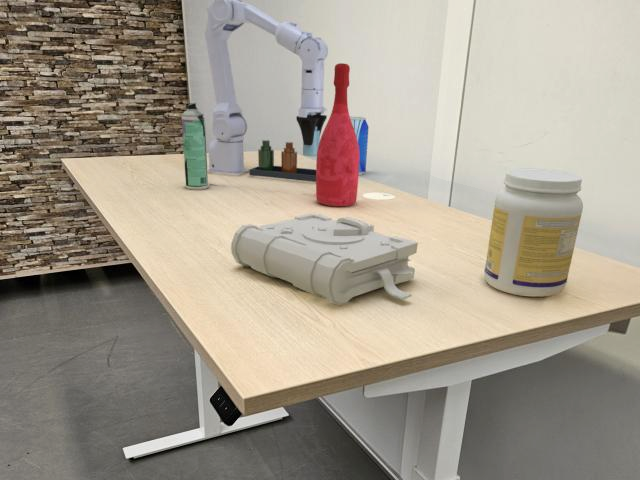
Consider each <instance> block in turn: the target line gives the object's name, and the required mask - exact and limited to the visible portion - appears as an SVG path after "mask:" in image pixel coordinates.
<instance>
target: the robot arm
mask: <svg viewBox="0 0 640 480" xmlns="http://www.w3.org/2000/svg"><path fill="white" fill-rule="evenodd" d="M206 11H207V20H206V21H207V22H206V26H205V27H206V28H205V31H204V36H205V37H204V38H205V44H206V49H207V55H208V60H209V66H210V71H211V78H212V85H213V89H214V96H215V101H216V102H215V103H216V106H215V108H214V110H213V112H212V117H213V121H212V125H211V128H212V132H213V135H214V136H215V138H216V139H212V140H211V141H210V142H209V144H208V167H209V170H208V172H213V173H223V174H233V175H239V174H242V173H245V172H248V171H249V169H250V168H249V169H248V168H245V152H244V136H245V135H246V134H247V131H248V123H247V122H248V121H247V120H246V118H245V117H244V115H243V110H242V108H241V106H240V105H239V104H238V103H237V96H236V91H235V90H236V89H235V84H234V78H233V77H234V76H233V71H232V66H231V65H232V64H231V59H230V53H229V46H228V39H229V38H230V37H231V36H232V34H233V33H234V32H235V31H237V30H238V29H239V28H241V27H242V26H244V25H245V24H252V25H254V26H255V27H258V28H259V29H262V30H263V31H265V32H267V33H269V34H270V35H273V36H274V37H275V38H274V39H275V41H276V43H277V44H278V45H280V46H281V47H283V48H284V49H286V50H288V51H290V52H291V53H293V54H295V55H297V56H298V57H299V59H300V60H301V91H300V92H301V93H300V94H301V95H300V107H299V108H298V115H297V116H296V117H295V118H296V122H297V124H298V126H299V129H300V133H301V138H302V144H303V143H304V145H312V143H313V138H314V131H315V127H316V126H317V130H320V135H322V134H321V133H322V129H323V127H324V124H325V122H326V120H327V118H328V116H327V114H325V112H327V111H328V108H327V107H325V106H324V87H325V85H324V84H325V60H326V58H327V57H328V53H329V47H328V45H327V43H326V42H325V41H324V39H322V38H321V37H313V32H311V31H305V30H303V29H301V28H300V27H298V26H297V25H298V24H297V22H295V21H293V20H290V21H287V20H286V21H283V22H280V21H278V20H276V19H274V18H273V17H271V16H270V15H268V14H267V13H265V12H263V11H262V10H260V9H259V8H258V7H256V6H254V5H252V4H250V3H247V2H244V1H243V0H212V1H211V2H210V3H209V5H208V6H207V8H206Z"/></svg>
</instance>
